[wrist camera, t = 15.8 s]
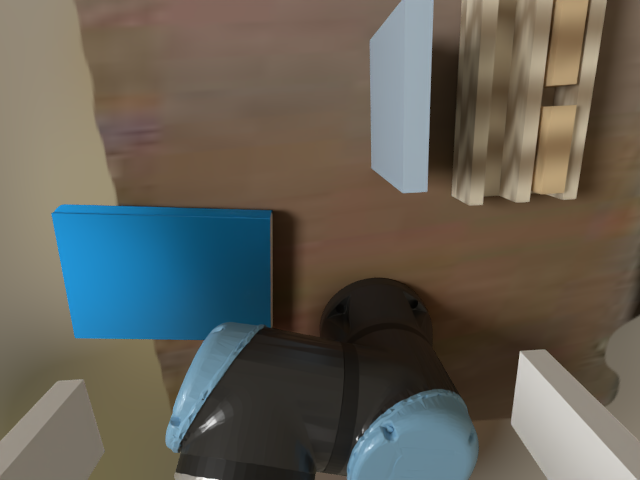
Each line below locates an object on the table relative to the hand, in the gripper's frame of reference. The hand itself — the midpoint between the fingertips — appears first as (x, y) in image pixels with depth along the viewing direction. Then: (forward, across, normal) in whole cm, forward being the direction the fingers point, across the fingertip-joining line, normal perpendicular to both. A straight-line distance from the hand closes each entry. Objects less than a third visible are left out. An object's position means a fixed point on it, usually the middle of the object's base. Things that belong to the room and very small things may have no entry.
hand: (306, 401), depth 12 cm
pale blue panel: (+37, -9, -9) cm, 39 cm away
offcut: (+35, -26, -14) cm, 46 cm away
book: (+37, +18, +10) cm, 42 cm away
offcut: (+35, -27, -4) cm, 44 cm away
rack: (+37, -24, -9) cm, 45 cm away
